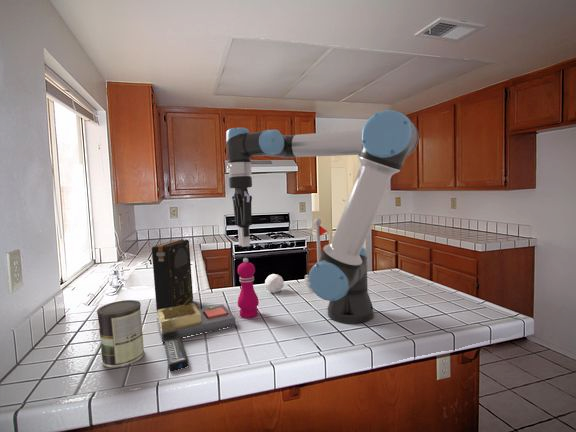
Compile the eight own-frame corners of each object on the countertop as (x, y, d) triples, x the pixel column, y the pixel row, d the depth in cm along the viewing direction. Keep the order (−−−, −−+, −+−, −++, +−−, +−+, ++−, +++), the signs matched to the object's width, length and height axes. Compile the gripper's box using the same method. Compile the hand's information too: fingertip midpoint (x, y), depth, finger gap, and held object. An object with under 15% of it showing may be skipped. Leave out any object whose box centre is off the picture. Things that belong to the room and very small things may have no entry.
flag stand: (298, 289, 141) (295, 219, 139) (319, 282, 150) (316, 216, 148) (321, 295, 132) (318, 220, 129) (342, 288, 141) (339, 217, 138)
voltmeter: (175, 315, 118) (170, 245, 116) (153, 314, 120) (147, 246, 118) (196, 300, 133) (191, 238, 131) (176, 299, 135) (171, 238, 133)
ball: (279, 299, 138) (284, 287, 134) (261, 293, 138) (265, 280, 133) (282, 285, 144) (287, 273, 140) (265, 280, 144) (269, 267, 140)
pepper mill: (242, 320, 110) (239, 261, 109) (235, 313, 117) (232, 257, 115) (262, 315, 114) (259, 258, 112) (254, 309, 120) (251, 254, 118)
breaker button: (227, 321, 109) (226, 312, 108) (209, 325, 106) (208, 316, 106) (222, 315, 114) (221, 307, 114) (204, 319, 111) (204, 310, 111)
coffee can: (94, 369, 83) (88, 315, 82) (112, 350, 94) (107, 301, 92) (136, 366, 84) (131, 312, 83) (150, 347, 94) (146, 298, 93)
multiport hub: (181, 345, 96) (180, 337, 95) (188, 368, 83) (188, 359, 82) (165, 348, 94) (164, 340, 94) (169, 373, 81) (169, 364, 81)
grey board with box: (235, 326, 106) (234, 308, 105) (162, 343, 96) (160, 323, 96) (223, 312, 118) (222, 296, 118) (157, 326, 109) (156, 308, 108)
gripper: (222, 177, 116) (227, 244, 118) (236, 174, 102) (241, 250, 104) (243, 176, 120) (247, 241, 121) (259, 174, 106) (263, 247, 108)
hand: (244, 245), depth 113 cm, fingers open, 2 cm apart
